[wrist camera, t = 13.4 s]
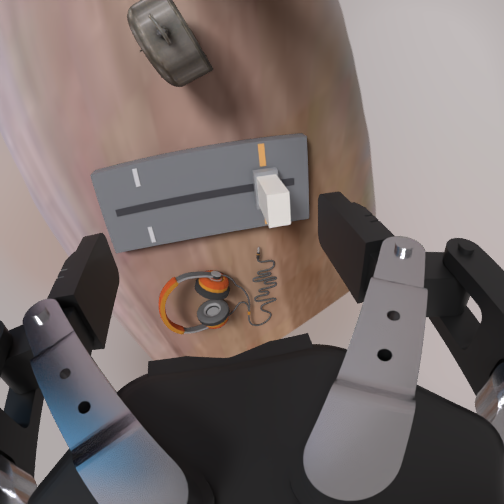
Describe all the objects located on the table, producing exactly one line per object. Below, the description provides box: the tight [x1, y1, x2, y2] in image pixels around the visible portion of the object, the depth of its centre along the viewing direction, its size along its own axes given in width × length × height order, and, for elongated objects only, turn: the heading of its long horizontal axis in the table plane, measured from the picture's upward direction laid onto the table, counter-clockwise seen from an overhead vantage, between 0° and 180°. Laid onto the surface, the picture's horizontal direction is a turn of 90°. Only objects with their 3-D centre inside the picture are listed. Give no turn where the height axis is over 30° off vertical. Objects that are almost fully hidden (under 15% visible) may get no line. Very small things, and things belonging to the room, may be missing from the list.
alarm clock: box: [127, 0, 213, 87], centre depth 24 cm, size 11×5×16 cm, turn 26°
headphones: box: [159, 247, 277, 334], centre depth 50 cm, size 17×5×20 cm
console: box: [90, 133, 309, 253], centre depth 41 cm, size 12×28×2 cm, turn 96°
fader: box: [252, 167, 291, 228], centre depth 37 cm, size 5×3×7 cm, turn 6°
